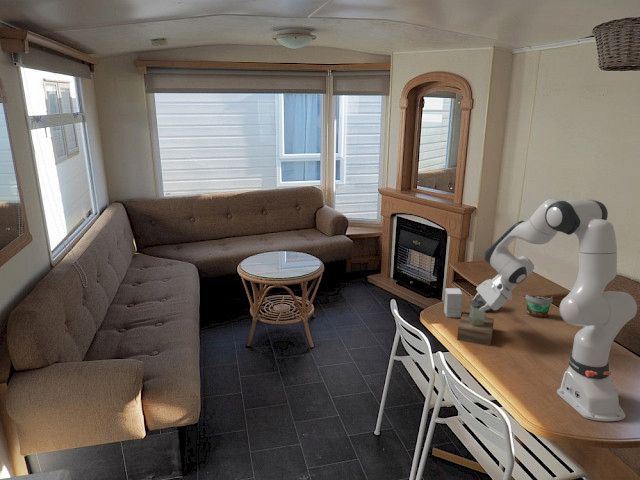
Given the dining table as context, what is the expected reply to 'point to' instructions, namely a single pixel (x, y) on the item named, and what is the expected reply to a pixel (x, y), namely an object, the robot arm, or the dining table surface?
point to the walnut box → (475, 331)
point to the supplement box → (453, 302)
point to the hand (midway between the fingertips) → (476, 306)
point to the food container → (538, 306)
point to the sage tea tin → (476, 313)
